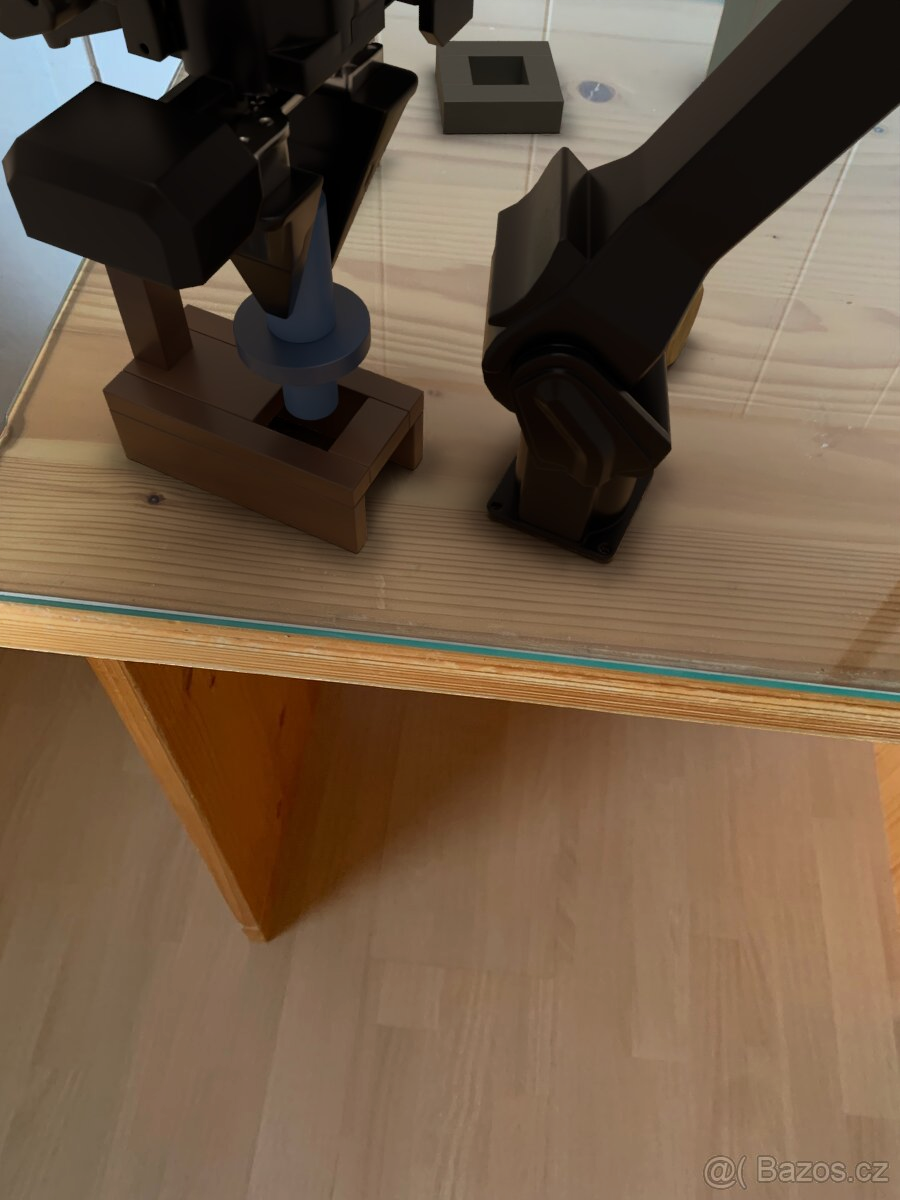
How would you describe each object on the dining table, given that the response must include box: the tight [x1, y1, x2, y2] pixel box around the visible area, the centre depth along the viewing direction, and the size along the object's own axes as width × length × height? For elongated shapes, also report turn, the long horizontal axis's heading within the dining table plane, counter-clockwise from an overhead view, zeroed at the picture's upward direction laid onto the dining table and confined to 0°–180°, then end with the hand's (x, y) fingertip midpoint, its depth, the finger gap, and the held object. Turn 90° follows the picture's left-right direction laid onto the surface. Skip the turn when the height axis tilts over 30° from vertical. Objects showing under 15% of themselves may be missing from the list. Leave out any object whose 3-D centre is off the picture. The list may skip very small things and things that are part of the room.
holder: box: [434, 40, 565, 134], centre depth 65 cm, size 8×8×2 cm
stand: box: [102, 265, 425, 554], centre depth 42 cm, size 7×13×12 cm, turn 64°
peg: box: [232, 190, 372, 420], centre depth 38 cm, size 6×6×10 cm
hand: (299, 291), depth 37 cm, fingers closed on peg, 3 cm apart
